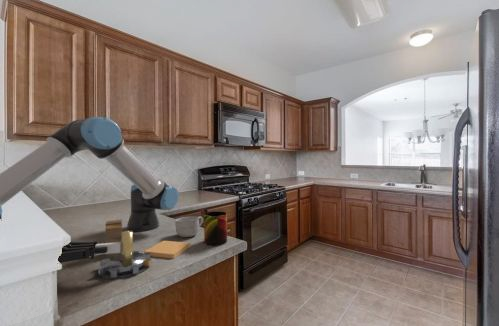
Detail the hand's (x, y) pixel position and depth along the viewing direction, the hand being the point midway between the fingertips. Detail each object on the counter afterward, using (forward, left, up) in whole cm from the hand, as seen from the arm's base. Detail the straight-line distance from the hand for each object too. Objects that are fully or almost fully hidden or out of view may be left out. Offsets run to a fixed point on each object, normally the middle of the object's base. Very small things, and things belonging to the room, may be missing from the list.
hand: (120, 247), depth 71 cm
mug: (-36, +16, -9) cm, 40 cm away
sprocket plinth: (-4, -2, -8) cm, 10 cm away
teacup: (-40, +2, -9) cm, 41 cm away
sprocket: (-4, -2, -8) cm, 10 cm away
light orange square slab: (-20, +3, -8) cm, 22 cm away
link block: (-13, -15, -8) cm, 22 cm away
